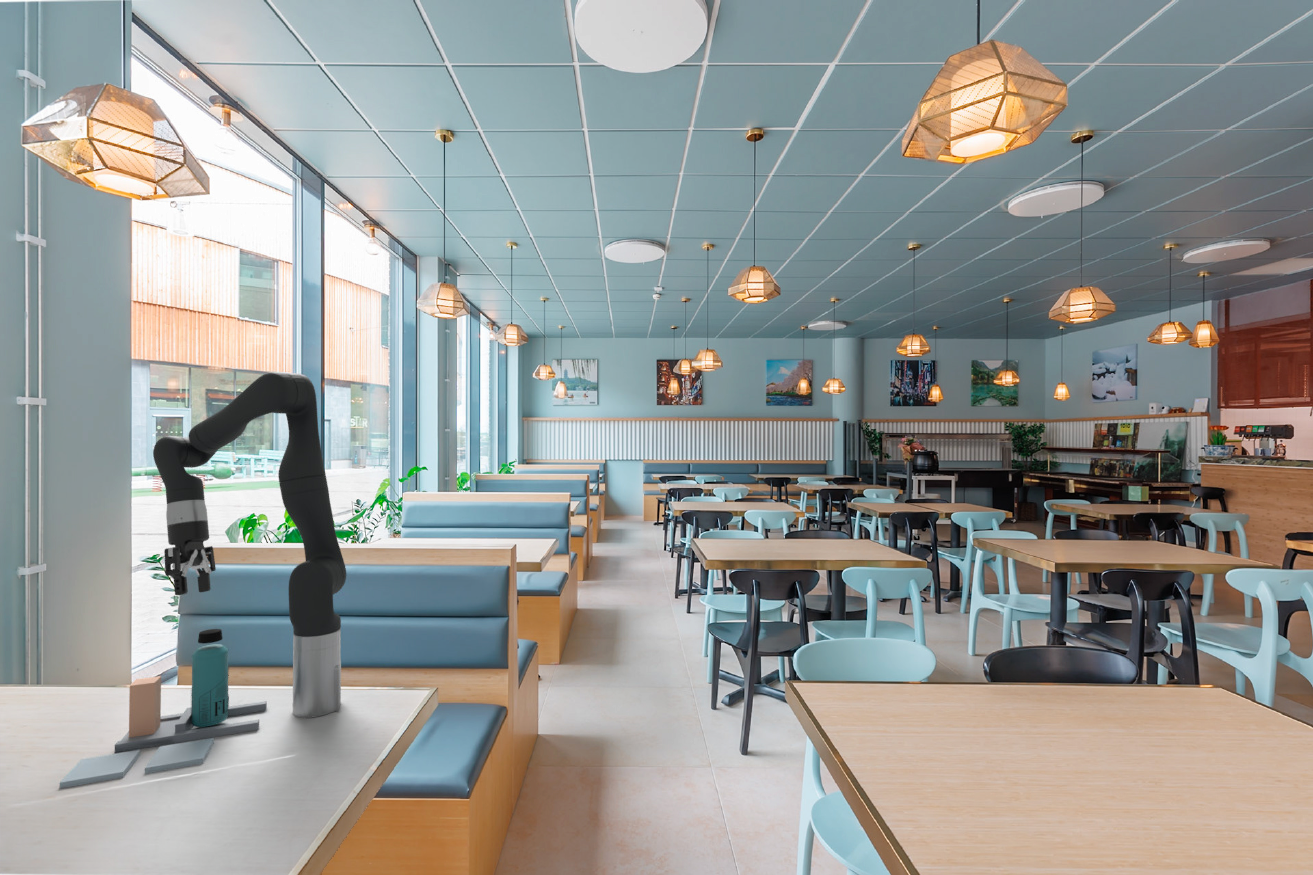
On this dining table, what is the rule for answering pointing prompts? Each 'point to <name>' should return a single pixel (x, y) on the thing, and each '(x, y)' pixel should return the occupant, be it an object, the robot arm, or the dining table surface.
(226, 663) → the beverage bottle
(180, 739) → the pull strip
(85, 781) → the split strip
